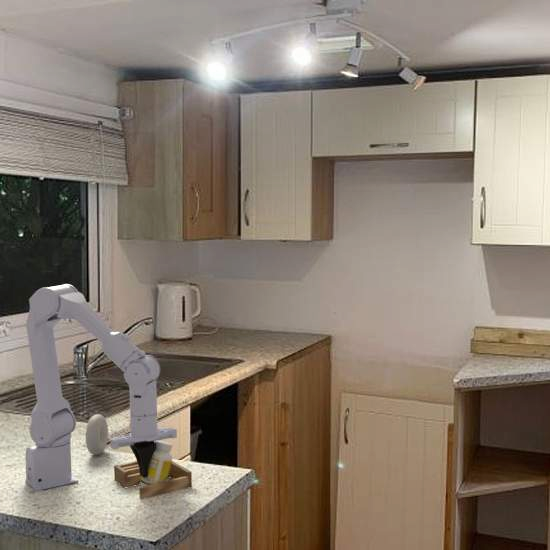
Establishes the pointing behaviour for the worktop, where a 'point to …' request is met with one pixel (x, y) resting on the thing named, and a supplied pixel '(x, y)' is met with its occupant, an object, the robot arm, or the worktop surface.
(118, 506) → the worktop surface
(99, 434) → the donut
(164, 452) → the supplement bottle
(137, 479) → the wooden slatted frame
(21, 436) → the worktop surface
